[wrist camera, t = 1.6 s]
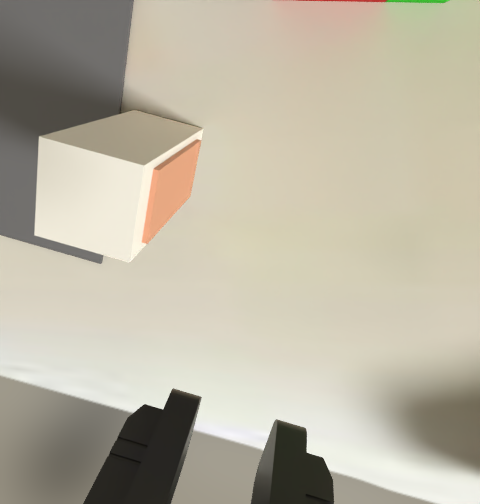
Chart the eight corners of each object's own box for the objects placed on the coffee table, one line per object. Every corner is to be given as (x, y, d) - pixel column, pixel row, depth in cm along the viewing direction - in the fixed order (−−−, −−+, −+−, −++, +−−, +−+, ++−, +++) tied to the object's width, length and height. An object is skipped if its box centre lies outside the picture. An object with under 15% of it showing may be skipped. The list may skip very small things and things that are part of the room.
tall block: (134, 109, 31) (38, 136, 20) (207, 129, 31) (150, 167, 20) (125, 177, 33) (34, 235, 22) (193, 196, 33) (135, 264, 22)
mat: (-44, -62, 29) (-48, -64, 28) (135, -16, 28) (133, -16, 28) (-37, 222, 37) (-39, 223, 37) (102, 262, 36) (100, 263, 36)
